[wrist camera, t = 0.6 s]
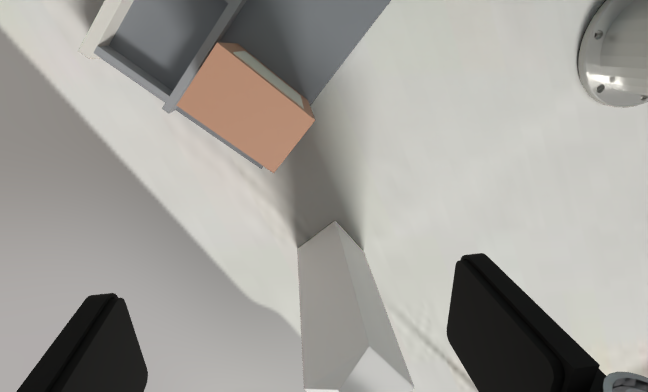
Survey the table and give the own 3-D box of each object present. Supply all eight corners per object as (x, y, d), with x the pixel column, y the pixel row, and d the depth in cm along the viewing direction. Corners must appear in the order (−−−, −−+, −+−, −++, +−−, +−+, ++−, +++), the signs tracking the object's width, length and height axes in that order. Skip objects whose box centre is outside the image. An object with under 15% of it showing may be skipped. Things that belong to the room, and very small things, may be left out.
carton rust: (308, 99, 34) (315, 119, 25) (277, 139, 35) (273, 173, 26) (238, 42, 31) (217, 41, 22) (207, 88, 32) (176, 105, 23)
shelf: (231, -198, 26) (223, -233, 23) (401, -18, 32) (414, -25, 29) (96, 48, 32) (75, 49, 28) (262, 164, 37) (259, 175, 34)
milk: (335, 219, 41) (382, 384, 21) (364, 251, 43) (433, 429, 23) (295, 249, 42) (304, 434, 22) (326, 279, 44) (360, 472, 24)
